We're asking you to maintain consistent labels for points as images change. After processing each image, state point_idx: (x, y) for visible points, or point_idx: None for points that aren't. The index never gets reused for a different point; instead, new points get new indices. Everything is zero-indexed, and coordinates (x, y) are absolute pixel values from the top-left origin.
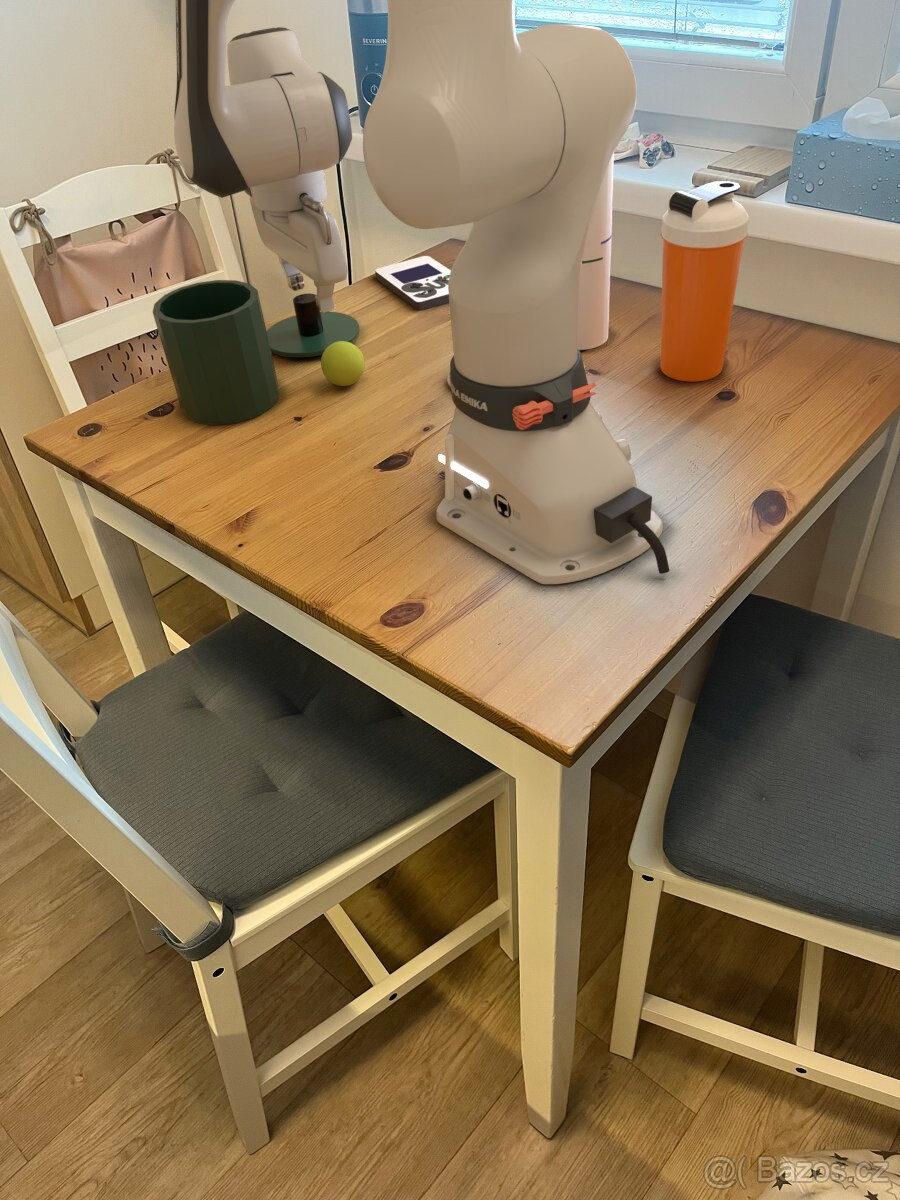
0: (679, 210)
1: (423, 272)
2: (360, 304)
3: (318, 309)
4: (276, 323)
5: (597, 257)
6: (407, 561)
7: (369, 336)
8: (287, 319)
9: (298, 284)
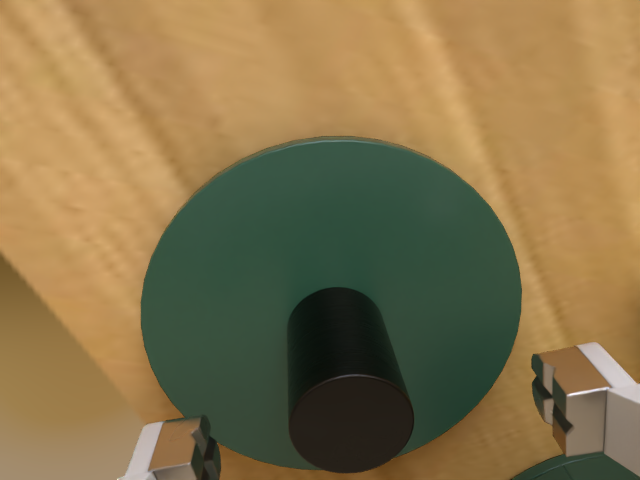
0: None
1: None
2: (42, 46)
3: (380, 349)
4: None
5: None
6: None
7: (420, 104)
8: (177, 387)
9: (202, 451)
